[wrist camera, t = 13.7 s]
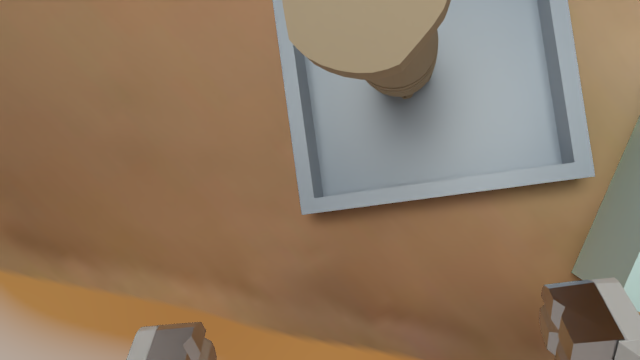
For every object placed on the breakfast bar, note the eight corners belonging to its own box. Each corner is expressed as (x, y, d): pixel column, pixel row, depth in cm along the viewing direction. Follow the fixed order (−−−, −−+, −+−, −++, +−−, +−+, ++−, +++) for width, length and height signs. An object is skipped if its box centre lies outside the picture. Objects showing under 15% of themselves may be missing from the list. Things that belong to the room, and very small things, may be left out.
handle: (460, 24, 28) (489, -148, 13) (429, 137, 28) (422, 90, 14) (376, 7, 29) (316, -170, 14) (346, 116, 29) (258, 52, 15)
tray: (314, 211, 30) (301, 214, 28) (286, 4, 31) (270, -14, 28) (577, 177, 27) (595, 176, 24) (542, -53, 28) (554, -81, 25)
